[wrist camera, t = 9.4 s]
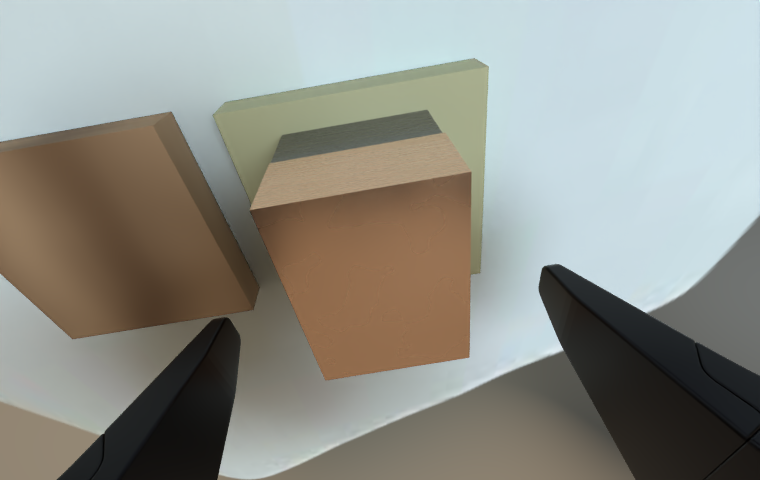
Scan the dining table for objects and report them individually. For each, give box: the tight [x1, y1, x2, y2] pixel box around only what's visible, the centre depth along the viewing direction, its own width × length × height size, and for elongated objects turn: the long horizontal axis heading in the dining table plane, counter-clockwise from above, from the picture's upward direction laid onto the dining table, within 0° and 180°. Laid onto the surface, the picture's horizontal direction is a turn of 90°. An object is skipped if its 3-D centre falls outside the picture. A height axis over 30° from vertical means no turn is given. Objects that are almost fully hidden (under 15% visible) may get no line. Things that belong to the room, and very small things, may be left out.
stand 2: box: [213, 58, 489, 275], centre depth 14 cm, size 9×9×2 cm
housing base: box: [271, 110, 442, 163], centre depth 13 cm, size 7×5×2 cm
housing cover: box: [250, 133, 472, 380], centre depth 11 cm, size 7×5×2 cm
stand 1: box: [0, 112, 259, 339], centre depth 15 cm, size 9×9×2 cm
